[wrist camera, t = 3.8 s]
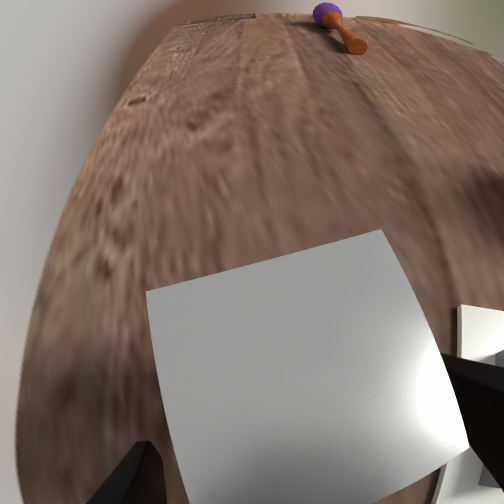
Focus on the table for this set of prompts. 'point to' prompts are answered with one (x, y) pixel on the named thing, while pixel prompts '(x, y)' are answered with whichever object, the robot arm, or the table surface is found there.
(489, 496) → the dock board
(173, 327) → the square peg
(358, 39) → the kendama
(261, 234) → the table surface
